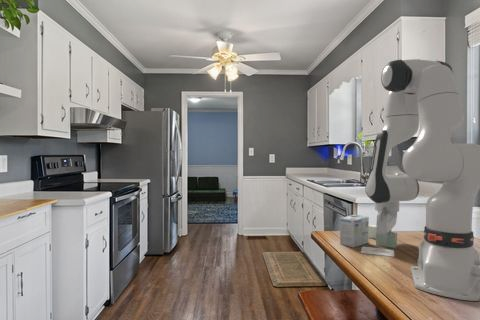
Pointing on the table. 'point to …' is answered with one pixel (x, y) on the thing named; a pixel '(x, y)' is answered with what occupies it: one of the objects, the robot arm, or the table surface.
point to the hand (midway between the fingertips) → (386, 240)
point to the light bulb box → (354, 230)
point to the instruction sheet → (377, 251)
